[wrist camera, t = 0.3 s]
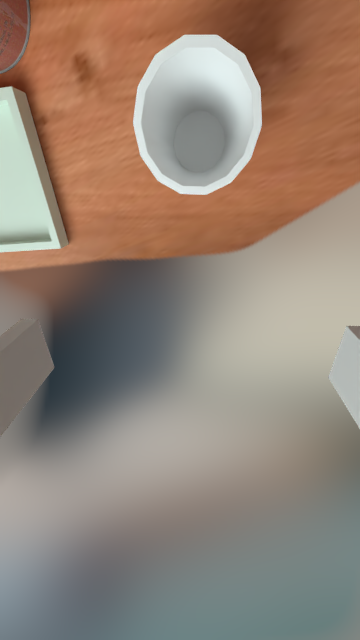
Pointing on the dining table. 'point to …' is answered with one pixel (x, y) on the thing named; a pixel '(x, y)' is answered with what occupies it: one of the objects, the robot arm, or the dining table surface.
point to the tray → (25, 182)
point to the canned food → (13, 32)
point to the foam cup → (197, 114)
